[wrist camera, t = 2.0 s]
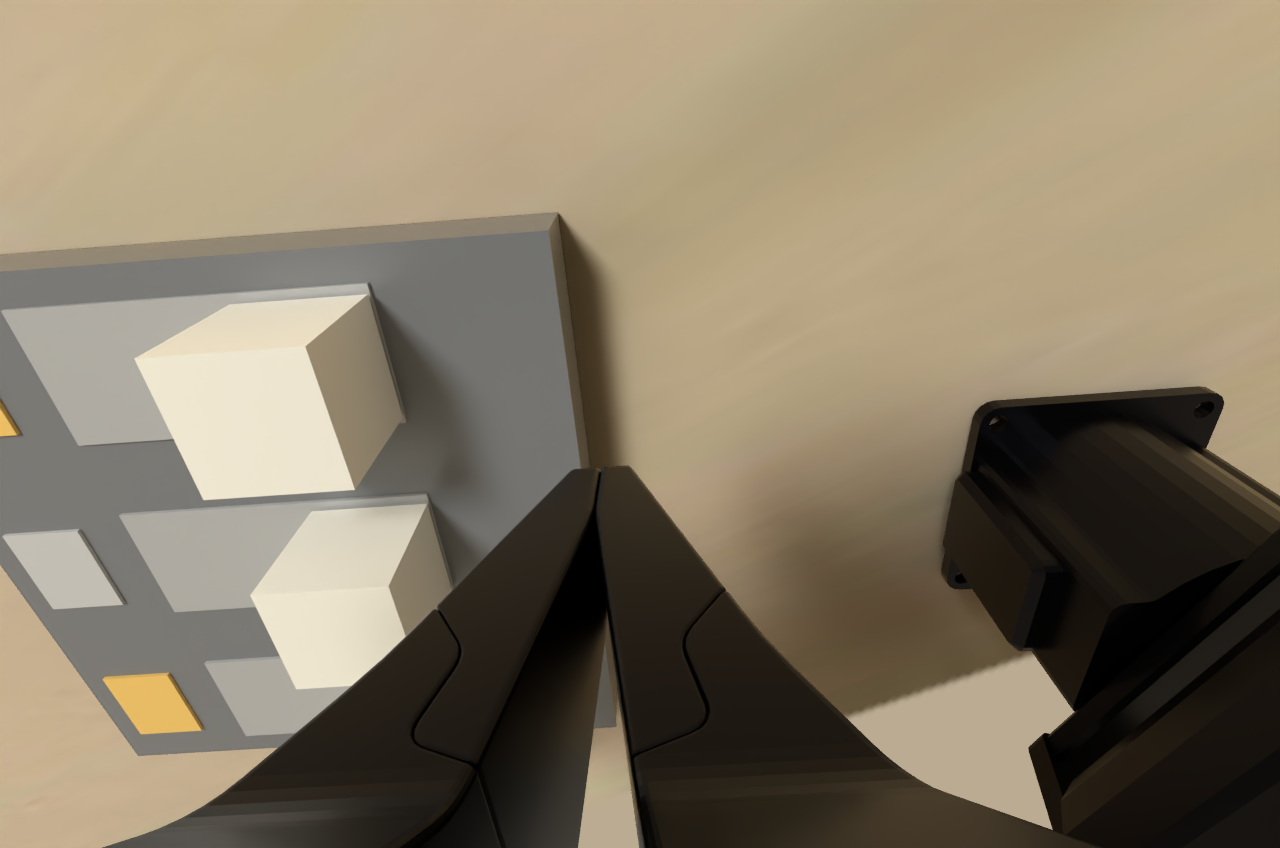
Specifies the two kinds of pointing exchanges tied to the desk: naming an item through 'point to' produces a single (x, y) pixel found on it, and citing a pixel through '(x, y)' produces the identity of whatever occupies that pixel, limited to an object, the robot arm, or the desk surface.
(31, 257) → the switch panel
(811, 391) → the desk surface
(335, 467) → the tab
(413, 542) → the tab
